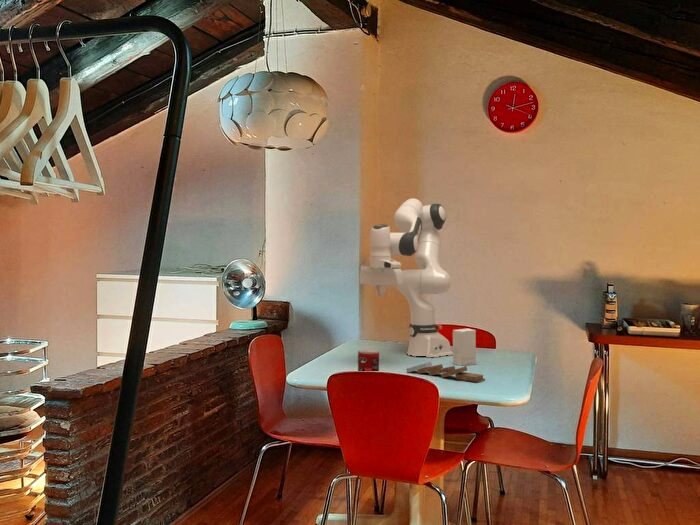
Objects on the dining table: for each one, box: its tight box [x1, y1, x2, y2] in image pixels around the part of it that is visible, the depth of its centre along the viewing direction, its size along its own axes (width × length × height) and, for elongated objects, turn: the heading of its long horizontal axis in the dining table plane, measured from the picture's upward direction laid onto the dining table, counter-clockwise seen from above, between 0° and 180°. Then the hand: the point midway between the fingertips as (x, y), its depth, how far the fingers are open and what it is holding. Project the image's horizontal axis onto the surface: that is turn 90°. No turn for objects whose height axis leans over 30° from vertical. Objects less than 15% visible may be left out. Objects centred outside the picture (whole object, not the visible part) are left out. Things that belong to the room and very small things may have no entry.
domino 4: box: [440, 365, 468, 379], centre depth 273 cm, size 2×5×9 cm
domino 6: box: [457, 377, 486, 384], centre depth 271 cm, size 2×5×9 cm
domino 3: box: [428, 365, 456, 376], centre depth 278 cm, size 2×5×9 cm
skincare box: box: [452, 328, 477, 367], centre depth 303 cm, size 8×6×15 cm
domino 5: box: [454, 371, 484, 381], centre depth 270 cm, size 2×5×9 cm
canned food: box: [357, 348, 380, 372], centre depth 272 cm, size 8×8×11 cm
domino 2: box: [416, 363, 444, 375], centre depth 282 cm, size 2×5×9 cm
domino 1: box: [405, 361, 433, 373], centre depth 285 cm, size 2×5×9 cm
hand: (380, 296), depth 300 cm, fingers closed
